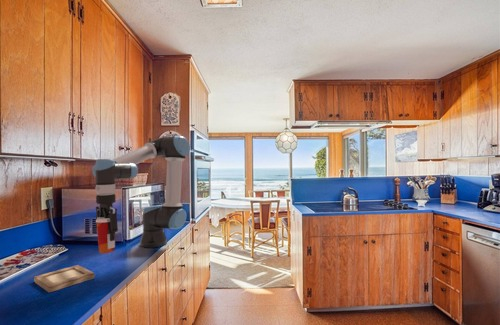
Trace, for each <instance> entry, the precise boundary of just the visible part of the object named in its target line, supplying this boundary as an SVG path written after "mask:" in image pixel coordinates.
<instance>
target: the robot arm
mask: <svg viewBox="0 0 500 325" xmlns="http://www.w3.org/2000/svg"><path fill="white" fill-rule="evenodd" d="M190 152H191V145H190V143H189V141H188V139H187V138H186V137H184V136H181V135H180V136H179V135H175V136H174V135H173V136H161V137H158V138H155V139H153V140H151V141H148V142H145V143H144V145H143V146H141V147H139V148H137V149H134V150H132V151H130V152H127V153H125V154H122V155H119V156H118V157H116V158H98V159H96V160H95V164H94V165H93V167H92V169H91V171H92V175H93V177H95V187H94V189H95V193H96V195H95V203H96V205H99V206H95V210H96V214H95V217H96V218H95V228H96V229H97V222H96V220H97V218H98V217H104V218H110V222H108V233H107V237H108V249H111V248H114V247H115V248H116V233H117V232H119V231H118V230H119V227H118V215H117V212H118V209H117V208H114V207H113V206H114V205H113V204H114V203H116V201H117V200H116V197H117V196H116V180H127V179H128V180H130V179H134V178H136V177H137V175H138V174H139V168H138V166H137V165H138V164H140V163H143V162H144V161H147V160H149V159H155V158H158V157H164V158H165V161H167V167H166V180H165V181H166V183H165V184H166V185H165V198H164V199H165V200H164V203H163V204H158V205H149V206H145V207H144V208H143V213H142V221H143V222H142V225H143V226H142V235H141V237H140V241H139V246H140V247H141V248H147V249H149V248H158V247H159V248H160V247H163V246H165V245H166V244H167V243H168V242H167V241H168V240H167V237H166V234H165V231H164V229H170V230H179V229H181V228H182V227H183V226H184V225H185V223H186V220H187V215H188V213H187V212H186V210H185V209H184V206H183V204H182V203H181V197H182V177H183V163H184V161H186V157H187V156H189V153H190ZM107 220H108V219H107ZM108 221H109V220H108Z"/></svg>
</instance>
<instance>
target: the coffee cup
mask: <svg viewBox="0 0 500 325" xmlns="http://www.w3.org/2000/svg"><path fill="white" fill-rule="evenodd" d="M107 219H108V220H109V221H108V220H107ZM96 222H97V228H96V230H97V231H96V232H97V244H98V253H99V254H110V253H113V252H114V251H115V248H116V246H115V247H114V248H111V249H108V237H107V233H108V222H110V218H104V217H98V218H97V220H96V219H95V223H96Z"/></svg>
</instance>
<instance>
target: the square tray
mask: <svg viewBox="0 0 500 325" xmlns="http://www.w3.org/2000/svg"><path fill="white" fill-rule="evenodd" d="M92 279H95V272H93V271H91V270H89V269H87V268H86V267H83V266H81V265H79V264H77V265H76V264H75V265H73V266H69V267H64V268H61V269H58V270H54V271H51V272H45V273H42V274H39V275H35V276H34V277H33V282H34V283H35V284H37V285H38V286H39V287H40V288H42V289H43V290H45V292H47V293H52V292H55V291H59V290H61V289H64V288H67V287H70V286H73V285H76V284H81V283H83V282H86V281H87V282H88V281H89V280H92Z"/></svg>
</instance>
